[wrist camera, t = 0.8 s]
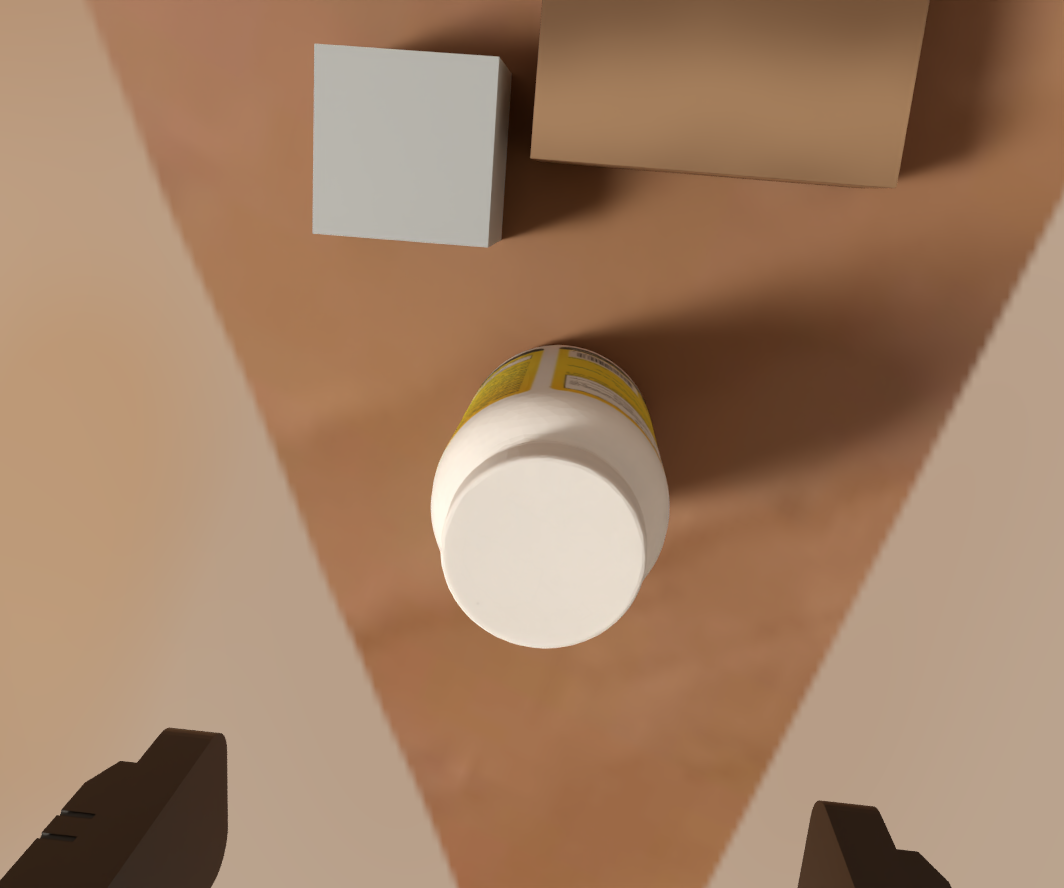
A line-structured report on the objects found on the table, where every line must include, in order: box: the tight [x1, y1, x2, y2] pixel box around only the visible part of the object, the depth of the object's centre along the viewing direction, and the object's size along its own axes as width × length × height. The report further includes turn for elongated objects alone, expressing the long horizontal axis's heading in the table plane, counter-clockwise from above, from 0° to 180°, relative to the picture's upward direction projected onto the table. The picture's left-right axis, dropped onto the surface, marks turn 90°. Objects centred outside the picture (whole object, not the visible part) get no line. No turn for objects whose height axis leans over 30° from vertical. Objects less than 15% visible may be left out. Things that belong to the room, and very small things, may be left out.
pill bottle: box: [431, 345, 669, 648], centre depth 26 cm, size 6×6×11 cm
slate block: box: [313, 44, 512, 247], centre depth 28 cm, size 5×5×4 cm
